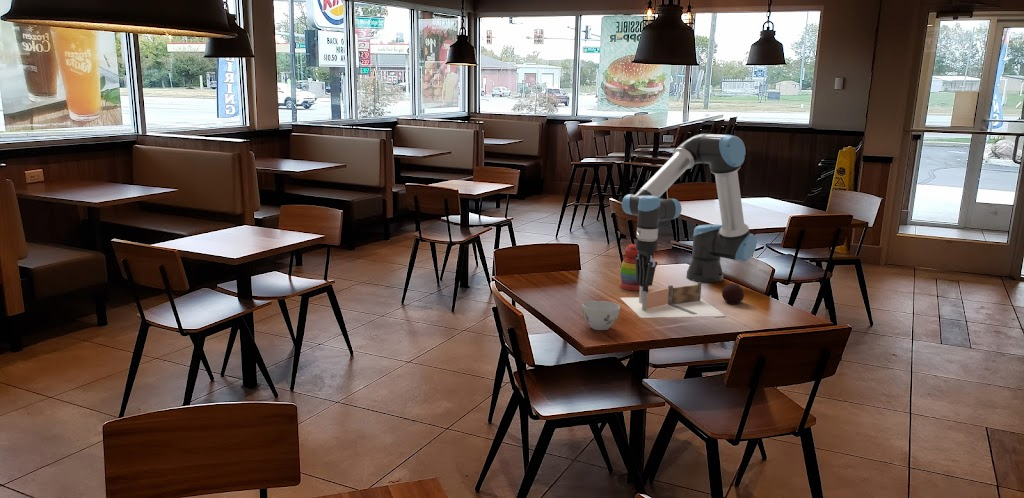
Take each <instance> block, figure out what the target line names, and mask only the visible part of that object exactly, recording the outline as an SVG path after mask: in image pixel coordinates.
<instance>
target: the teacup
mask: <svg viewBox="0 0 1024 498" xmlns="http://www.w3.org/2000/svg"><path fill="white" fill-rule="evenodd" d="M581 307H582V313H583V317H584V320H585V321H586V322H587V324H588V325H589V326H590V328H591V329H592V330H596V331H606V330H609V329H610V328H611V327H612V326H613V325H614V323H616V321H617V319H618V317H619V315H620V311H621V305H620V304H618V303H615V302H612V301H608V300H607V301H605V300H600V301H599V300H588V301H585V302H583V303H582V305H581Z"/></svg>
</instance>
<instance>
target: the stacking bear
mask: <svg viewBox="0 0 1024 498" xmlns="http://www.w3.org/2000/svg"><path fill="white" fill-rule="evenodd" d="M624 252H625V258H624V259H623V260H622V262H621V266H620V270H619V271H620V272H619V274H620V281H621V282H620V285H619V287H620V289H623V290H628V291H637V292H639V291H640V285H639V282H637V278H636V261H635V255H638V252H639V251H638V250H637V249H636V243H634V244H633V242H632V243H630V244H629V245H627V246H626V247H625V250H624Z"/></svg>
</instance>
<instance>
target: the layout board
mask: <svg viewBox="0 0 1024 498" xmlns="http://www.w3.org/2000/svg"><path fill="white" fill-rule="evenodd" d="M620 300H622V302H624V303H625V304H626V305H627V306H628V307H629V308H630V309H631V310H632V311H633V312H634V313H635V314H636V315H637V316H638V317H639V318H640V319H647V318H649V319H652V318H653V319H654V318H659V319H660V318H691V317H694V318H695V317H696V318H697V317H698V318H699V317H702V318H703V317H704V318H705V317H714V318H715V319H716V318H717V319H719V318H720V319H721V318H727V316H726V315H725V314H724V313H723V312H722V311H720V310H718V309H717V308H715V307H714V306H713V305H711V304H710V303H708V302H706V301H705V300H704V299H702V298H701V297H700V300H696V301H689V302H682V303H675V304H673V303H672V304H671V305H669V304H667V305H662V306H658V307H654V308H650V309H646V310H642V304H640V303H639V296H636V297H620Z"/></svg>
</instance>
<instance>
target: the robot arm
mask: <svg viewBox="0 0 1024 498" xmlns="http://www.w3.org/2000/svg"><path fill="white" fill-rule="evenodd" d="M746 154H747V153H746V146H745V143H744V141H743V139H741V138H740V137H738V136H737V135H731V134H718V133H716V134H715V133H706V132H705V133H699V134H695V135H693V136H691V137H690V138H687V139H686V140H685V141H683V142H682V143H680V144H679V145H678V146H677V147H676V148H675V149H674V151H673V152H672V155H671V157H670V158H669V159H668V160H667V161H666V162H665V163H664V164H663V165H662V166H661V167H660V168H659V169H658V170H657V171H656V172H655V173H654V175H652V176H651V177H650V178H649V179H648V181H646V183H645V184H643V185H642V187H640V189H639V190H638V191H636V193H635V194H633V193H631V194H630V193H628V194H626V195H624V197H623V198H622V201H621V207H622V211H623V212H624V213H625V214H627V215H632V216H637V225H636V238H637V239H636V240H635V244H636V249H637V250H638V251H639V252H638V255H635V261H636V278H637V282H639V285H640V291H638V292H639V293H638V294H639V295H638V297H639V303H640V304H642V301H643V291H647V292H649V288H650V286H651V287H652V286H653V281H654V277H655V273H656V267H657V265H658V262H657V261H655V260H654V259H655V256H654V252H656V251H657V250H658V239H659V222H663V221H672V220H674V219H677V218H678V217H679V216H681V214H682V209H683V208H682V204H681V203H680V200H678V199H676V198H669V197H668V198H667V199H666V198H661V196H663V194H664V193H665V192H666V191H668V190H669V188H671V186H673V184H674V183H675V182H676V181H677V180H678V179H679V177H682V175H683V173H685V172H686V170H688V169H692V167H694V166H695V165H696V164H708V165H709V171H710V173H711V174H713V175H714V177H715V178H714V179H715V184H716V185H715V186H716V190H717V191H716V193H717V199H718V205H719V207H718V208H719V213H720V220H721V224H719V223H717V224H713V223H711V224H699V225H697V226H695V227H694V229H693V234H692V237H693V238H692V250H691V251H692V255H691V261H690V263H689V266H688V267H687V271H686V278H687V279H689V280H691V281H695V282H701V283H719V282H722V281H723V280H724V272H723V269H722V265H721V258H723V259H727V260H733V261H736V262H738V261H739V262H747V261H750V259H751V258H752V257H753V255H754V253H755V251H756V249H757V243H758V241H757V237H756V235H755V234H753V233H750V226H748V224H746V223H745V219H744V213H743V204H742V195H741V188H740V180H739V174H738V173H739V172H738V171H739V170H740V169H741V166H742V164H744V162H745V156H746Z"/></svg>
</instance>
